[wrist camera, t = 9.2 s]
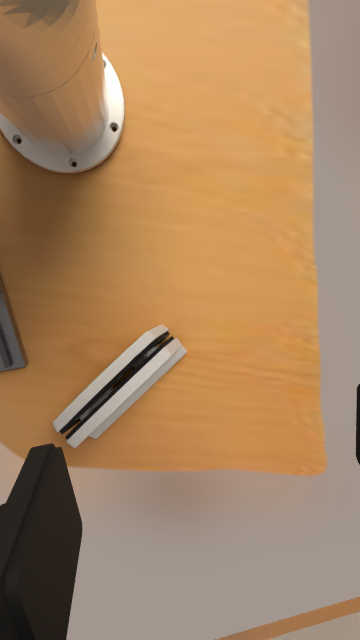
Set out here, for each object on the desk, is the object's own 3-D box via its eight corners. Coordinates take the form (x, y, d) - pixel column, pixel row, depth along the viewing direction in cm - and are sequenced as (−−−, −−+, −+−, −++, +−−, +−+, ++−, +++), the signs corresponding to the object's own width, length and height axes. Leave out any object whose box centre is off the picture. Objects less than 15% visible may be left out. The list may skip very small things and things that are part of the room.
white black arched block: (98, 436, 43) (65, 472, 33) (74, 409, 43) (34, 437, 33) (189, 349, 42) (184, 358, 32) (164, 322, 42) (151, 323, 32)
